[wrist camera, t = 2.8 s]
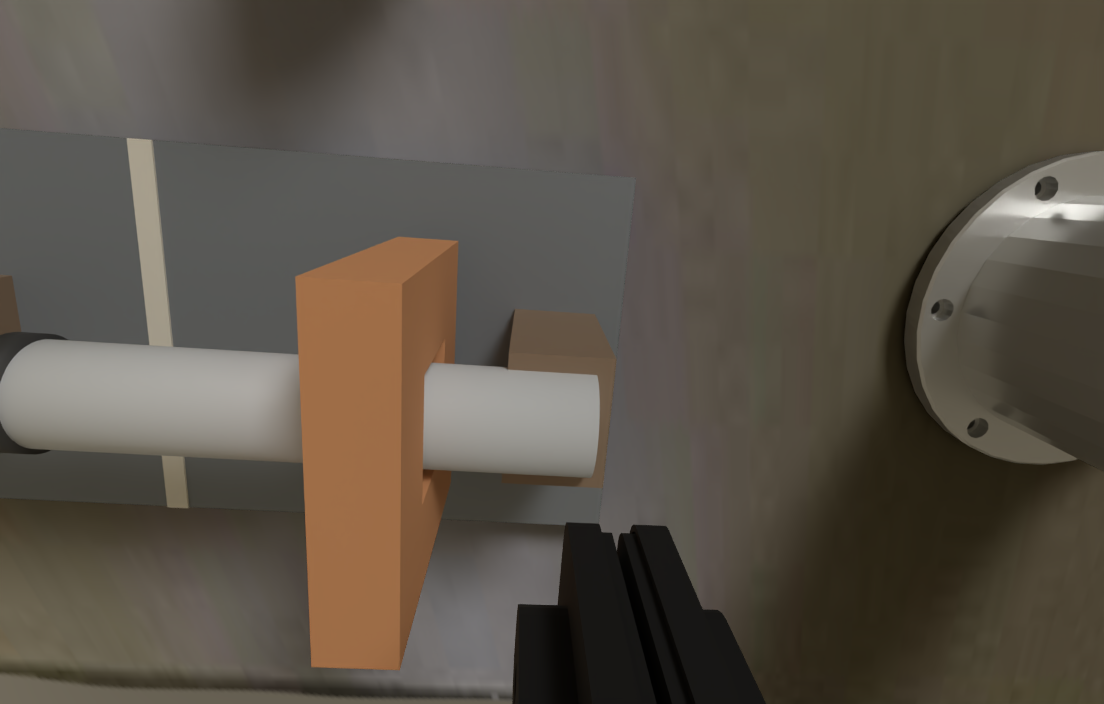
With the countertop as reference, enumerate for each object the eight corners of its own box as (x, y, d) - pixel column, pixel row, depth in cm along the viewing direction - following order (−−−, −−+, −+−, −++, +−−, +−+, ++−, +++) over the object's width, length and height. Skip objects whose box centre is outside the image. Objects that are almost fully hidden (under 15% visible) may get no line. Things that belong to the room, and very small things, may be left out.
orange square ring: (458, 240, 20) (401, 283, 11) (450, 482, 22) (399, 670, 14) (398, 236, 20) (295, 276, 11) (396, 479, 22) (311, 666, 14)
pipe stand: (629, 178, 23) (691, 174, 14) (594, 507, 26) (626, 670, 17) (-94, 121, 21) (-538, 77, 12) (-22, 477, 25) (-324, 637, 16)
